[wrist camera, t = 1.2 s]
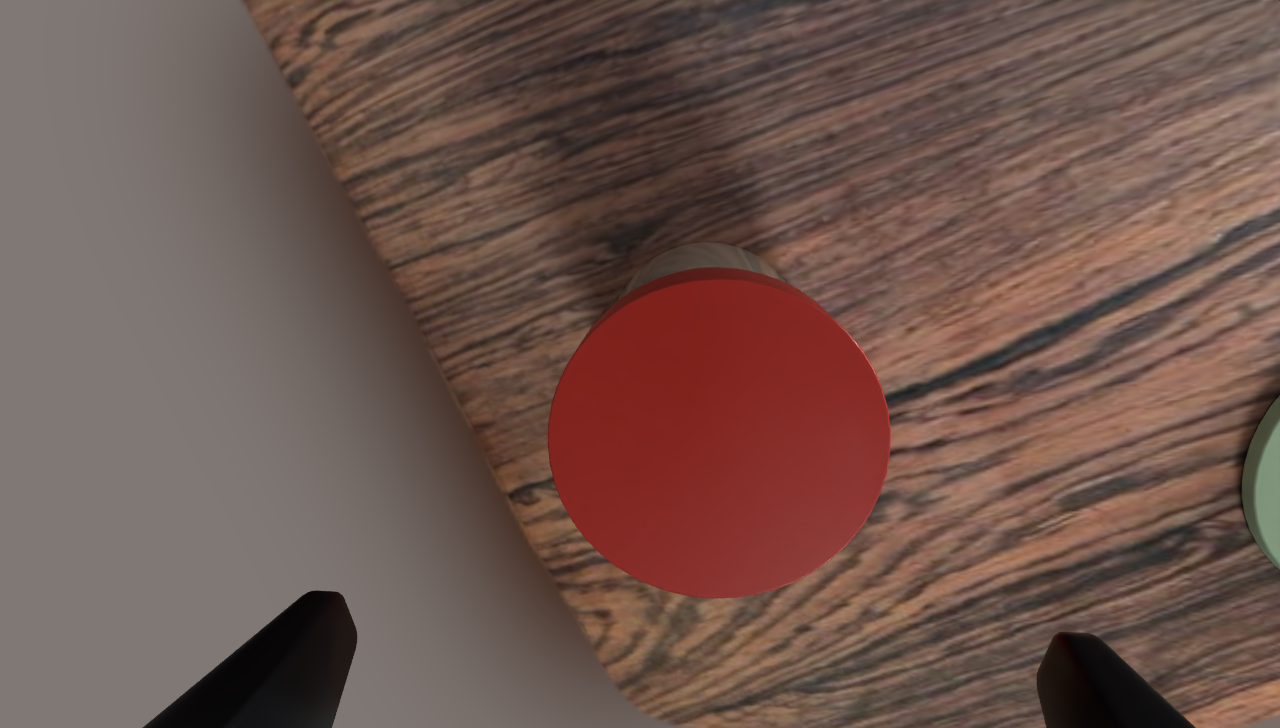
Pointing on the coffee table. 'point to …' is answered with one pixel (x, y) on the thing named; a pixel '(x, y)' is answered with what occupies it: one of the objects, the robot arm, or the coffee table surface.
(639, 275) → the jar
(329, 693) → the robot arm
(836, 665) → the coffee table surface
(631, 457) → the lid
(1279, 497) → the coaster
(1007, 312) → the coffee table surface
